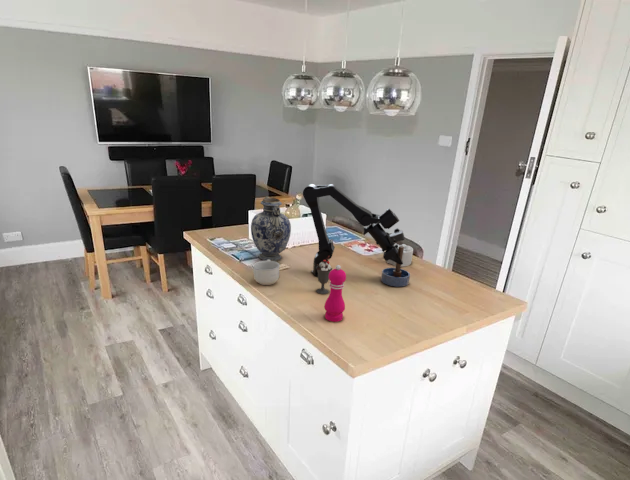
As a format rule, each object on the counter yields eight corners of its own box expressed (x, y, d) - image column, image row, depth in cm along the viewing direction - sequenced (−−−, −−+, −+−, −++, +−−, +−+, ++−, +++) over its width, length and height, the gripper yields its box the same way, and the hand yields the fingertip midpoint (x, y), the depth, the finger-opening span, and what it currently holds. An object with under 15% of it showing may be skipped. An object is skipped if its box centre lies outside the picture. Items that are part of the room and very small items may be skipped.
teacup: (274, 289, 168) (274, 270, 164) (248, 285, 169) (248, 266, 166) (284, 277, 180) (284, 259, 177) (260, 273, 182) (260, 256, 179)
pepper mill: (322, 313, 151) (326, 261, 143) (342, 313, 152) (347, 261, 144) (324, 322, 145) (328, 268, 136) (345, 322, 145) (350, 269, 137)
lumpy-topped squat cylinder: (383, 261, 208) (385, 244, 205) (400, 257, 216) (402, 241, 213) (399, 267, 201) (402, 250, 198) (416, 263, 209) (419, 246, 206)
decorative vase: (295, 263, 196) (298, 204, 185) (257, 266, 189) (257, 205, 178) (282, 249, 214) (283, 194, 202) (246, 251, 207) (246, 194, 195)
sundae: (332, 290, 171) (335, 255, 165) (327, 296, 165) (330, 260, 159) (317, 287, 173) (319, 252, 166) (311, 292, 167) (314, 257, 161)
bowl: (388, 288, 177) (389, 278, 175) (376, 277, 187) (377, 268, 185) (413, 286, 180) (415, 277, 179) (400, 276, 191) (402, 267, 189)
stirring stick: (398, 279, 181) (403, 248, 175) (391, 277, 183) (395, 246, 177) (401, 277, 184) (407, 246, 178) (394, 275, 185) (399, 245, 180)
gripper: (396, 229, 165) (419, 259, 169) (394, 218, 182) (415, 245, 186) (373, 246, 169) (396, 274, 173) (374, 234, 186) (395, 260, 190)
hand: (401, 263), depth 180 cm, fingers closed on stirring stick, 2 cm apart
